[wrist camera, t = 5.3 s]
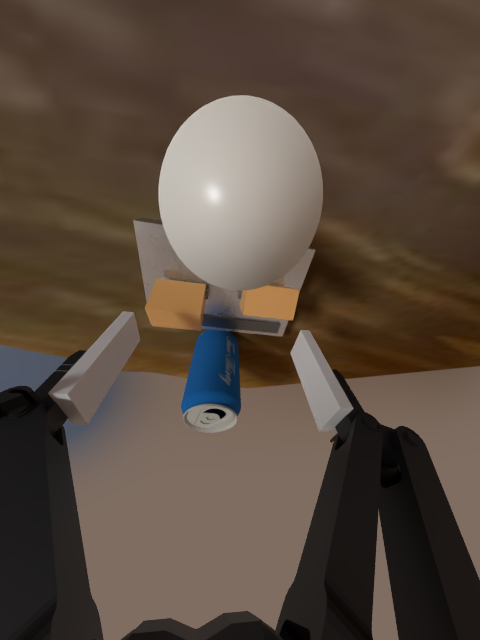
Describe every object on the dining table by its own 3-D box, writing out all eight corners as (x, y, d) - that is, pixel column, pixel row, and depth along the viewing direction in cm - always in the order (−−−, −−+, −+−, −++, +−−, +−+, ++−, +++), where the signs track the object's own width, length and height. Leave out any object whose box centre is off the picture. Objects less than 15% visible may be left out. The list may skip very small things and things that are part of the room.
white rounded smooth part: (208, 158, 16) (99, -8, 3) (266, 170, 16) (401, 84, 3) (206, 224, 19) (147, 296, 6) (254, 232, 19) (302, 314, 6)
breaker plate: (142, 217, 18) (131, 220, 16) (308, 245, 20) (316, 250, 18) (155, 315, 25) (149, 325, 23) (279, 327, 27) (282, 337, 25)
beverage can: (246, 338, 28) (254, 416, 18) (222, 361, 31) (217, 438, 21) (212, 318, 26) (200, 395, 16) (189, 344, 28) (167, 424, 19)
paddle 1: (155, 273, 19) (141, 308, 16) (209, 280, 19) (203, 314, 17) (161, 293, 21) (149, 325, 19) (208, 298, 22) (203, 330, 19)
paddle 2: (240, 279, 21) (244, 282, 16) (286, 286, 21) (302, 290, 17) (236, 305, 21) (240, 314, 17) (281, 310, 22) (295, 320, 18)
